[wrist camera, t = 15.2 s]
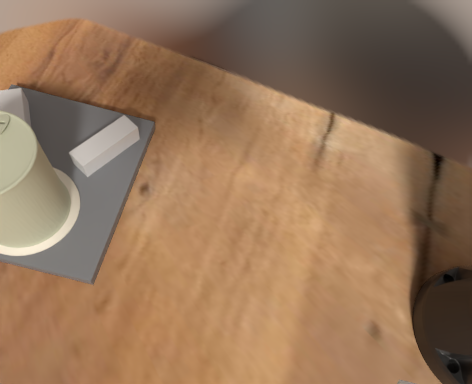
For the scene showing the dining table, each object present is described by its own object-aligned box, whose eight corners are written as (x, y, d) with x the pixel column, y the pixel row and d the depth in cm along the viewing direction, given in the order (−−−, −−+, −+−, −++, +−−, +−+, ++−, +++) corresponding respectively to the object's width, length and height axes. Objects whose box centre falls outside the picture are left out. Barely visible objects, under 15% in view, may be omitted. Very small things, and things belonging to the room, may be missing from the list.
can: (85, 186, 44) (56, 124, 33) (44, 259, 40) (-4, 215, 29) (10, 161, 44) (-43, 91, 34) (-39, 232, 40) (-117, 177, 29)
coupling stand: (155, 128, 51) (153, 109, 47) (93, 284, 41) (85, 275, 37) (15, 92, 51) (3, 70, 47) (-81, 241, 41) (-106, 227, 37)
